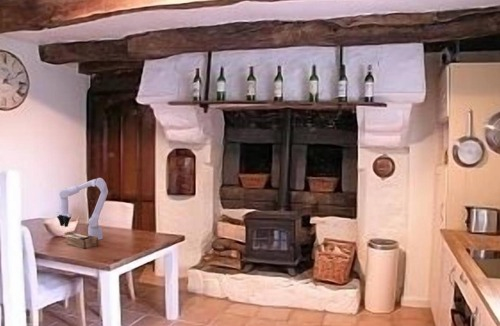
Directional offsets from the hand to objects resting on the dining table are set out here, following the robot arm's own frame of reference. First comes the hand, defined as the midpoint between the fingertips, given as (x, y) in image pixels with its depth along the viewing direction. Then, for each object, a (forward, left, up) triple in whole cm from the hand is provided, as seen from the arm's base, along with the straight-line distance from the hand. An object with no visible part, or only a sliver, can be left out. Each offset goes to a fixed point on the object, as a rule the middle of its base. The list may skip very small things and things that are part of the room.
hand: (64, 226), depth 332 cm
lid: (0, +13, -6) cm, 14 cm away
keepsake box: (0, +21, -10) cm, 23 cm away
